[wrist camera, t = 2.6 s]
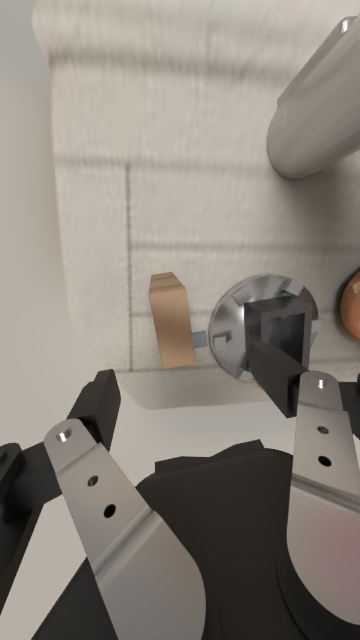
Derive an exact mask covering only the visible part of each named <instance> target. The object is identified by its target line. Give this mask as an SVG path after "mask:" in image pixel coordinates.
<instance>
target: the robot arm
mask: <svg viewBox="0 0 360 640" xmlns="http://www.w3.org/2000/svg"><path fill="white" fill-rule="evenodd" d="M359 150H360V14H359V15H358V16H351V17H346V18H344V19H342V20H341V21H340V22H339V23H338V24H337V26H336V27H335V28H334V29H333V31H332V32H331V33H330V34H329V36H328V37H327V38H326V39H325V41H324V42H323V43H322V44H321V46H320V47H319V48H318V49H317V51H316V52H315V53H314V54H313V56H312V57H311V58H310V59H309V61H308V62H307V63H306V64H305V66H304V67H303V68H302V69H301V71H300V72H299V73H298V74H297V76H296V77H295V78H294V79H293V81H292V82H291V83H290V84H289V86H288V87H287V88H286V89H285V91H284V92H283V93H282V94H281V96H280V97H279V98H278V107H277V110H276V113H275V114H274V116H273V118H272V120H271V123H270V126H269V129H268V134H267V151H268V156H269V159H270V162H271V164H272V165H273V167H274V168H275V170H276V171H277V172H278V173H279V174H281V175H282V176H284V177H286V178H290V179H300V178H304V177H307V176H309V175H311V174H313V173H316V172H318V171H320V170H321V169H323V168H325V167H327V166H329V165H331V164H333V163H335V162H337V161H339V160H341V159H343V158H345V157H347V156H349V155H351V154H353V153H355V152H357V151H359ZM249 354H250V370H251V373H252V375H253V377H254V378H255V380H256V381H257V382H258V383H259V385H260V386H261V387H262V388H263V390H264V391H265V392H266V393H267V394H268V396H269V397H270V398H271V399H272V401H273V402H274V403H275V404H276V406H277V407H278V408H279V409H280V410H281V412H282V413H283V414H284V415H285V417H286V418H291V417H297V419H296V433H295V444H294V456H293V455H291V454H289V453H286V452H283V451H279V450H276V449H269V448H264V446H263V444H262V443H261V441H260V439H258V440H254V441H250V442H245V443H240V444H236V445H233V446H231V447H229V448H227V449H225V450H223V451H221V452H220V453H217V454H215V455H214V456H211V457H184V456H181V457H177V458H172V459H168V460H163V461H158V462H155V473H153V474H151V475H149V476H148V477H146V478H145V479H143V480H142V481H141V482H140V483H139V484H138V485H137V486H136V487H134V486H133V484H132V483H131V482H130V480H129V479H128V478H127V477H126V475H125V474H124V473H123V471H122V470H121V469H120V467H119V466H118V464H117V463H116V462H115V461H114V459H113V458H112V456H111V455H110V454H109V451H110V446H111V442H112V438H113V433H114V429H115V425H116V420H117V416H118V411H119V407H120V402H121V396H120V391H119V387H118V384H117V380H116V377H115V373H114V370H113V369H109V370H103V371H99V372H98V373H97V375H96V377H95V379H94V381H92V382H89V383H88V384H87V385H86V386H85V387H84V388H83V389H82V391H81V393H80V395H79V397H78V398H77V400H76V402H75V404H74V406H73V408H72V409H71V412H70V413H69V415H68V417H67V419H66V420H65V421H62V422H60V423H59V424H57V425H55V426H54V427H53V428H52V429H51V430H50V431H49V432H48V433H47V434H46V436H45V438H44V441H43V442H41V443H39V444H36V445H34V446H32V447H30V448H27V449H25V450H23V451H22V449H21V448H20V445H19V444H17V443H8V444H5V445H3V446H0V614H1V612H2V609H3V607H4V604H5V602H6V599H7V597H8V594H9V592H10V589H11V587H12V584H13V581H14V579H15V576H16V574H17V571H18V568H19V566H20V564H21V561H22V559H23V556H24V553H25V550H26V548H27V546H28V543H29V541H30V538H31V536H32V533H33V530H34V528H35V525H36V523H37V520H38V518H39V515H40V513H41V510H42V508H43V505H44V504H45V503H47V502H48V501H50V500H52V499H54V498H56V497H58V496H60V495H62V494H63V496H64V498H65V501H66V503H67V506H68V509H69V511H70V514H71V516H72V519H73V521H74V524H75V527H76V529H77V532H78V534H79V537H80V539H81V542H82V544H83V547H84V550H85V552H86V555H87V557H86V559H85V560H84V561H83V563H82V564H81V566H80V567H79V569H78V570H77V572H76V573H75V575H74V576H73V578H72V579H71V581H70V582H69V584H68V585H67V587H66V588H65V590H64V591H63V593H62V594H61V596H60V597H59V598H58V600H57V601H56V603H55V605H54V606H53V607H52V609H51V610H50V612H49V613H48V615H47V616H46V618H45V619H44V621H43V622H42V624H41V625H40V627H39V628H38V630H37V631H36V633H35V634H34V636H33V637H32V639H31V640H360V470H359V465H358V460H357V456H356V450H355V445H354V440H353V435H352V434H355V436H356V437H357V438H358V439H359V440H360V373H359V374H358V378H357V382H338V381H337V380H336V379H335V378H334V377H333V376H331V375H329V374H327V373H323V372H319V371H309V370H308V369H306V368H305V367H304V366H302V365H301V364H300V363H298V362H297V361H296V360H294V359H293V358H292V357H291V356H289V355H288V354H287V353H285V352H284V351H282V350H280V349H277V348H274V347H273V348H272V347H270V346H269V345H268V344H267V343H265V342H264V341H260V342H255V343H250V345H249Z"/></svg>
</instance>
